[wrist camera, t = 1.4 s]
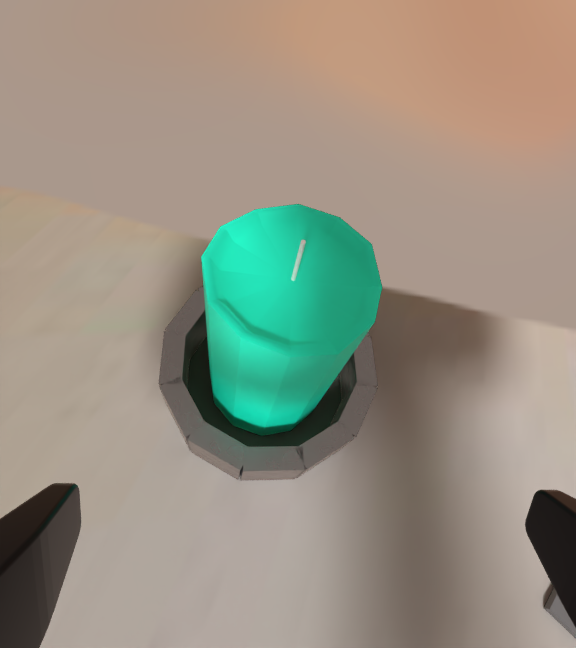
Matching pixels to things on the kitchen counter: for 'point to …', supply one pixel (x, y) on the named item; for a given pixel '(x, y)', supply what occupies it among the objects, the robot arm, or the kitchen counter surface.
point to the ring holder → (226, 450)
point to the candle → (284, 312)
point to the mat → (559, 613)
